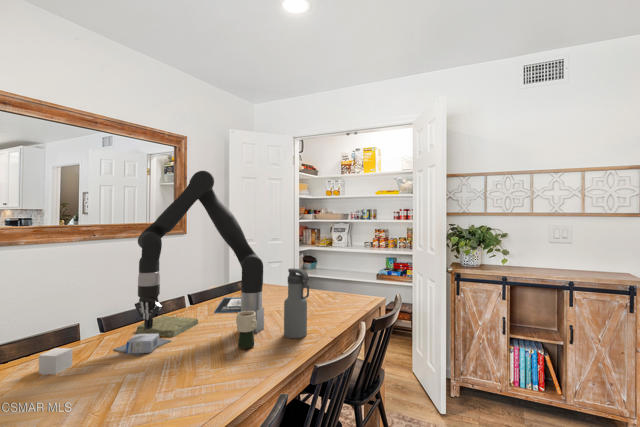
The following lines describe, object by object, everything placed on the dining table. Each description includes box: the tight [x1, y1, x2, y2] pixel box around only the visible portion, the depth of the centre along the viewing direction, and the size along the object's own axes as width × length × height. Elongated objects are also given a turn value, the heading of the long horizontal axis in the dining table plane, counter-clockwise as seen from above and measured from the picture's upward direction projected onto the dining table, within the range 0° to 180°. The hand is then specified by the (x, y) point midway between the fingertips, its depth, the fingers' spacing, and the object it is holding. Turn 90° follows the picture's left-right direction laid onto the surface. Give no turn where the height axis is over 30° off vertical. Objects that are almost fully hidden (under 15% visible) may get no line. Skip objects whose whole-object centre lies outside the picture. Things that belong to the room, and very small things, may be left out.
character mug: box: [235, 311, 257, 349], centre depth 126 cm, size 11×7×13 cm, turn 56°
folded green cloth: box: [135, 315, 199, 338], centre depth 147 cm, size 19×20×4 cm
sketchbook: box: [213, 296, 241, 314], centre depth 186 cm, size 22×30×2 cm
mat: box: [113, 337, 172, 357], centre depth 127 cm, size 13×15×1 cm
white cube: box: [38, 347, 73, 376], centre depth 107 cm, size 6×6×6 cm
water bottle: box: [283, 267, 310, 340], centre depth 140 cm, size 10×10×28 cm
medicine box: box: [126, 333, 160, 354], centre depth 123 cm, size 8×4×9 cm
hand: (148, 328), depth 126 cm, fingers closed
